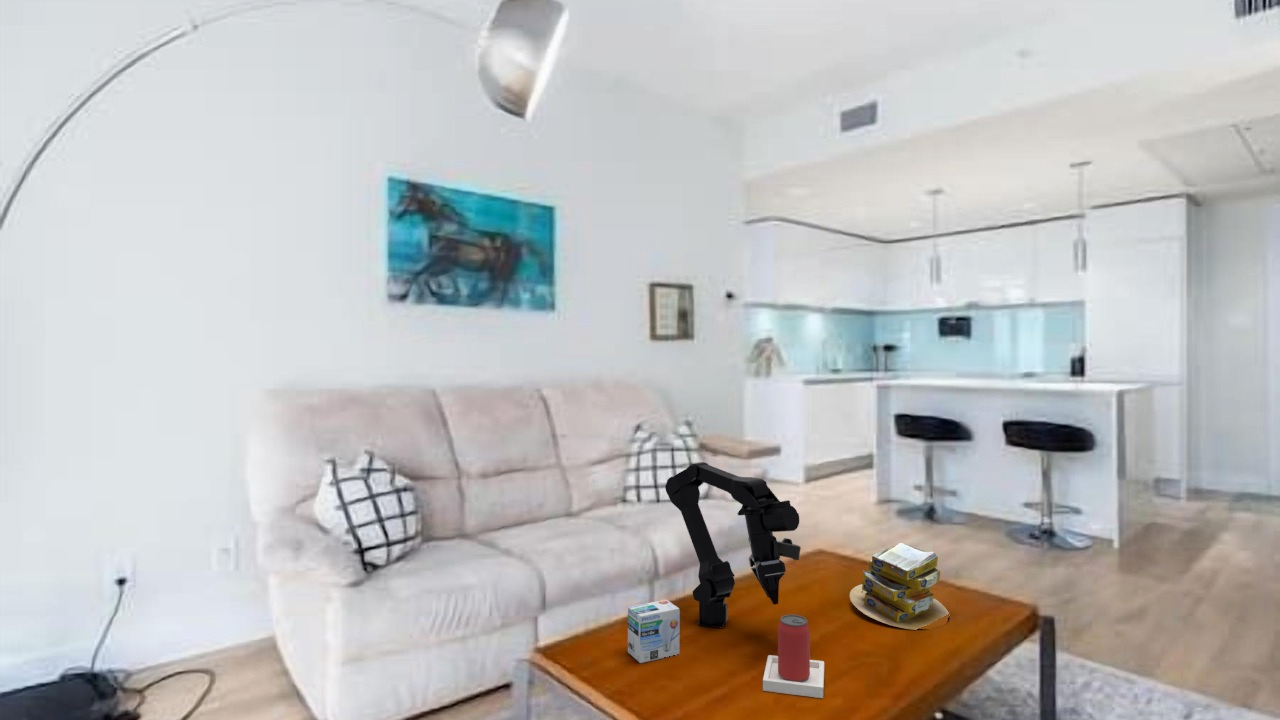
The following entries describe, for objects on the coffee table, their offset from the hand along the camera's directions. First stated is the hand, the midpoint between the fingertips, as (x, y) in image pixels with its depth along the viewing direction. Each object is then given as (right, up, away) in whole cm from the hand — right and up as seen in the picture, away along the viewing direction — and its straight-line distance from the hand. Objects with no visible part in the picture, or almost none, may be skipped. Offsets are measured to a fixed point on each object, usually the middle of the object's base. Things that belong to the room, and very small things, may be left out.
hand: (772, 600), depth 163 cm
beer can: (+2, -11, -15) cm, 19 cm away
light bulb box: (-28, -12, -2) cm, 30 cm away
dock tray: (+2, -12, -15) cm, 19 cm away
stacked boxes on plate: (+38, -11, +23) cm, 45 cm away
